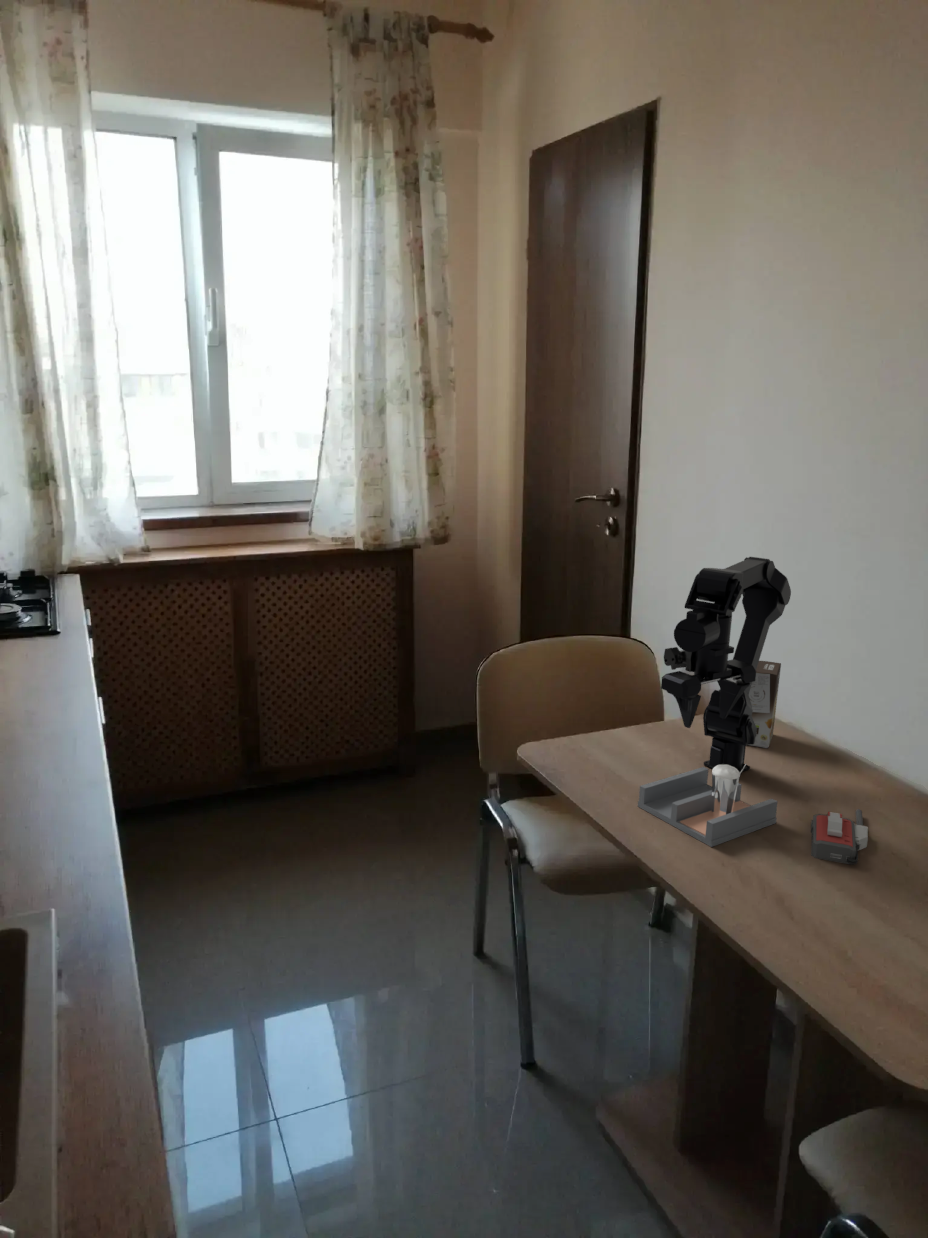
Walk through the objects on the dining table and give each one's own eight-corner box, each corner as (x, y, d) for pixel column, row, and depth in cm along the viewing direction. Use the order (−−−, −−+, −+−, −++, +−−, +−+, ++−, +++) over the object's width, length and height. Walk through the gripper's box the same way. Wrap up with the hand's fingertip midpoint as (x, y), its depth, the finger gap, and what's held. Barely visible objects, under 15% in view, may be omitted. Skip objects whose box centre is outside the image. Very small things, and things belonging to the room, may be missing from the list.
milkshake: (741, 824, 154) (747, 769, 152) (708, 820, 155) (713, 765, 153) (739, 812, 158) (745, 758, 156) (707, 808, 160) (712, 755, 157)
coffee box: (769, 749, 189) (777, 674, 185) (737, 744, 192) (744, 670, 188) (773, 734, 198) (781, 662, 193) (742, 729, 200) (750, 658, 196)
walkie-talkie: (869, 874, 143) (864, 819, 161) (873, 848, 142) (867, 795, 160) (809, 862, 146) (810, 810, 164) (812, 837, 144) (813, 787, 163)
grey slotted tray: (700, 786, 171) (702, 766, 170) (776, 823, 158) (778, 801, 156) (637, 806, 163) (639, 785, 162) (711, 847, 149) (713, 824, 148)
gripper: (714, 622, 174) (707, 700, 178) (642, 635, 164) (636, 718, 168) (761, 636, 165) (753, 718, 169) (688, 651, 156) (681, 738, 159)
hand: (705, 722), depth 167 cm, fingers open, 9 cm apart
